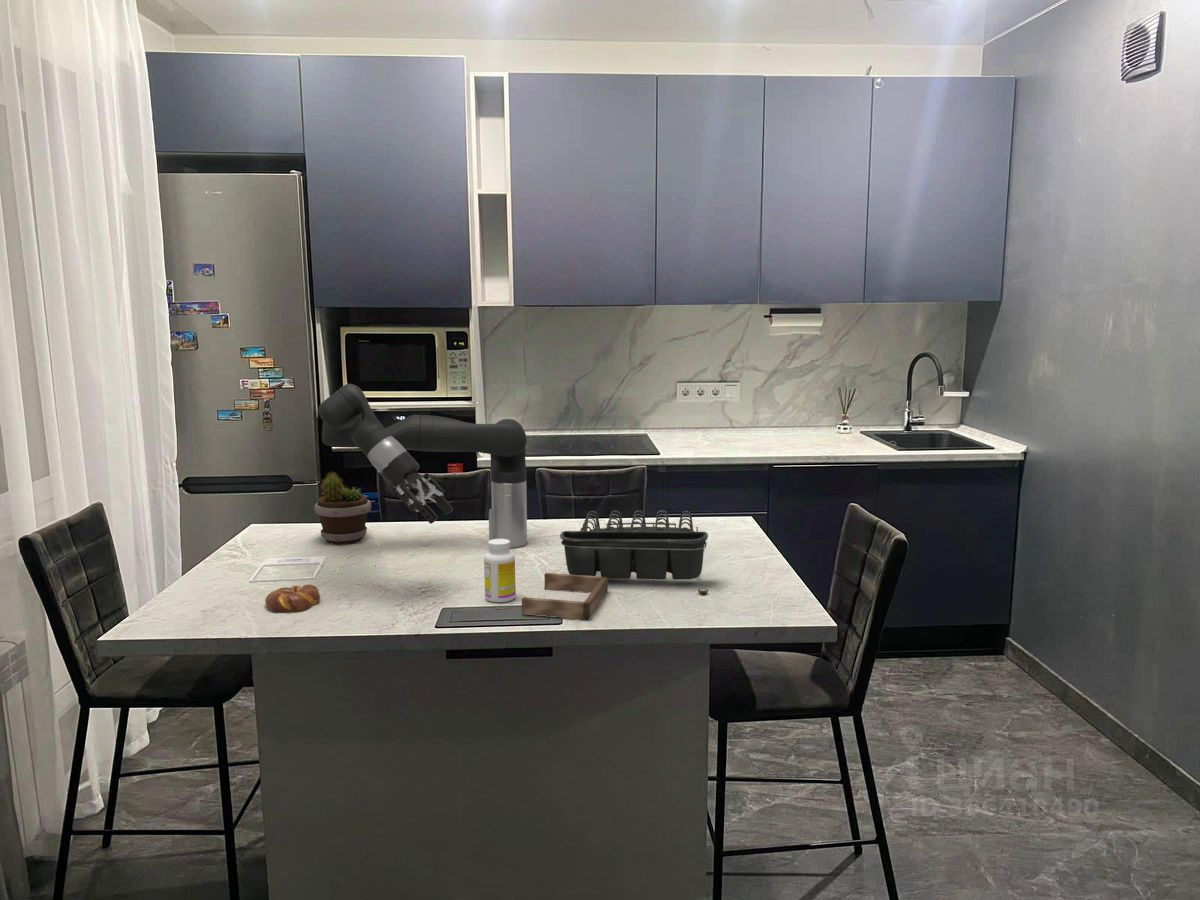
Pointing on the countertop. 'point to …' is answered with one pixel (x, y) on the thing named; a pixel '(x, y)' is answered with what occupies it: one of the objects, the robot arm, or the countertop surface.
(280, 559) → the photo frame
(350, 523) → the flowerpot
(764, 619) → the countertop surface
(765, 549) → the countertop surface
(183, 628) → the countertop surface
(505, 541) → the supplement bottle
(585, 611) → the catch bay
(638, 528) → the dish rack
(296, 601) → the pretzel
